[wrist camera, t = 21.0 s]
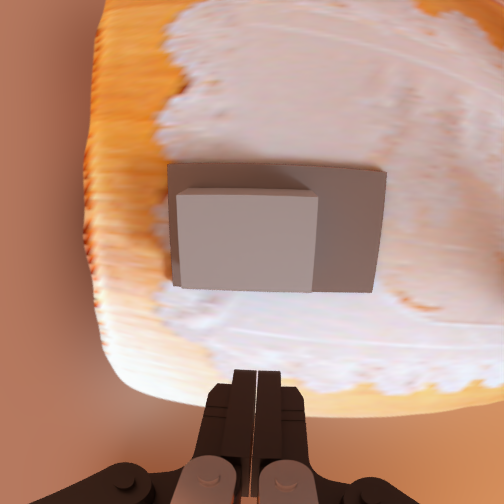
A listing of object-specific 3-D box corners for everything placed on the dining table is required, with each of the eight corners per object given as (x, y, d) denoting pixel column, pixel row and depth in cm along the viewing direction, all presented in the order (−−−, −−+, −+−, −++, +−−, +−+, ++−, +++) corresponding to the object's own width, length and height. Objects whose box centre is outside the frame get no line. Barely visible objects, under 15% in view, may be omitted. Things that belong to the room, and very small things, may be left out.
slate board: (384, 171, 28) (386, 172, 27) (369, 289, 32) (371, 292, 31) (169, 163, 29) (167, 164, 28) (175, 282, 33) (173, 286, 32)
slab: (311, 189, 28) (188, 187, 29) (318, 197, 24) (176, 194, 25) (306, 273, 31) (192, 270, 31) (311, 292, 27) (181, 288, 27)
